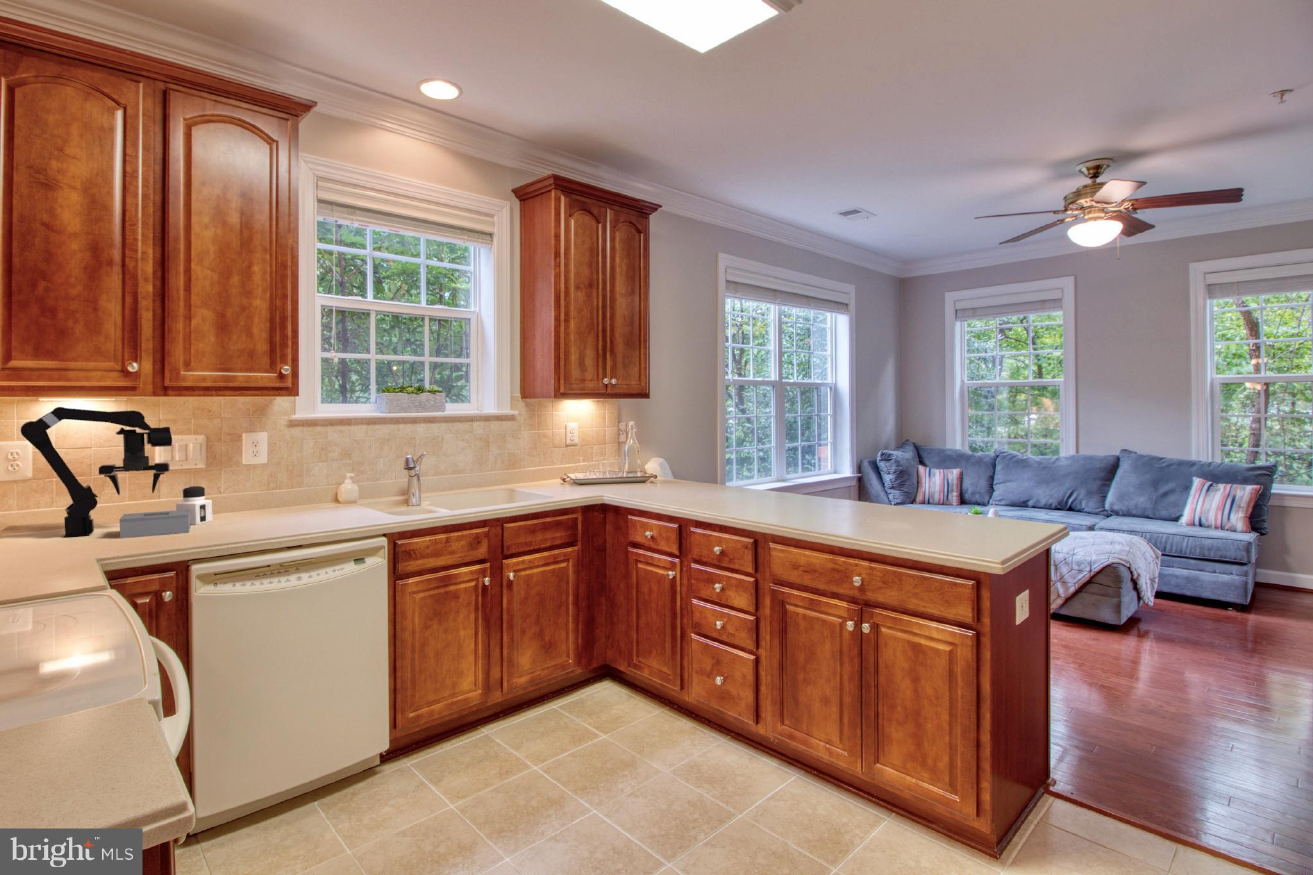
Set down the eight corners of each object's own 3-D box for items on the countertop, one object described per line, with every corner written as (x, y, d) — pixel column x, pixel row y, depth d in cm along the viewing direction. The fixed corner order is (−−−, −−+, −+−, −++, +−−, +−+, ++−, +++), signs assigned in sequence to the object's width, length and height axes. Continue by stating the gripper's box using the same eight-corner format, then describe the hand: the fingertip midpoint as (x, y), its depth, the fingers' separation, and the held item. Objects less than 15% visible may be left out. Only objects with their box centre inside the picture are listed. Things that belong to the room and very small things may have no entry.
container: (212, 521, 248) (211, 485, 248) (196, 525, 241) (195, 488, 240) (193, 520, 249) (191, 485, 249) (176, 524, 242) (174, 487, 241)
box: (120, 538, 218) (119, 519, 218) (124, 531, 228) (124, 513, 228) (188, 532, 228) (188, 514, 227) (190, 526, 238) (189, 509, 237)
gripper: (95, 450, 220) (97, 498, 221) (166, 448, 230) (168, 494, 231) (100, 448, 229) (102, 494, 230) (168, 446, 239) (170, 490, 240)
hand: (136, 493), depth 233 cm, fingers open, 9 cm apart
